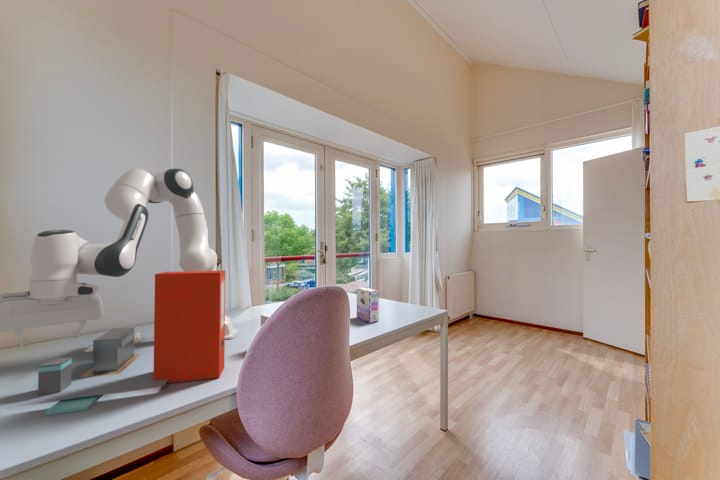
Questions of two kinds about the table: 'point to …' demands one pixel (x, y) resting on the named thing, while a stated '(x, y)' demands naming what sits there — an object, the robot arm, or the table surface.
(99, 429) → the table surface
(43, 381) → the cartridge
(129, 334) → the panel
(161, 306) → the file binder
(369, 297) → the candy box
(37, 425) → the table surface
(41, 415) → the table surface
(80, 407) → the pad
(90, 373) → the board
